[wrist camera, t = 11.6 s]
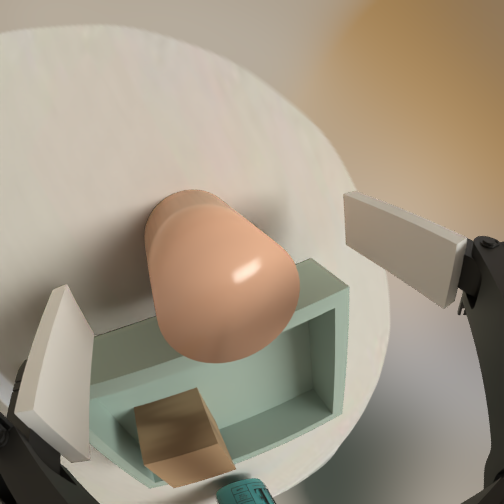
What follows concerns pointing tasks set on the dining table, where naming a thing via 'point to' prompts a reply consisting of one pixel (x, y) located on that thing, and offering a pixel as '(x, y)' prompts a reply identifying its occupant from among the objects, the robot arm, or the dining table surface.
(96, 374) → the tray
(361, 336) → the dining table surface
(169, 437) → the walnut cube
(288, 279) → the peach rounded smooth part
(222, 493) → the beverage bottle
